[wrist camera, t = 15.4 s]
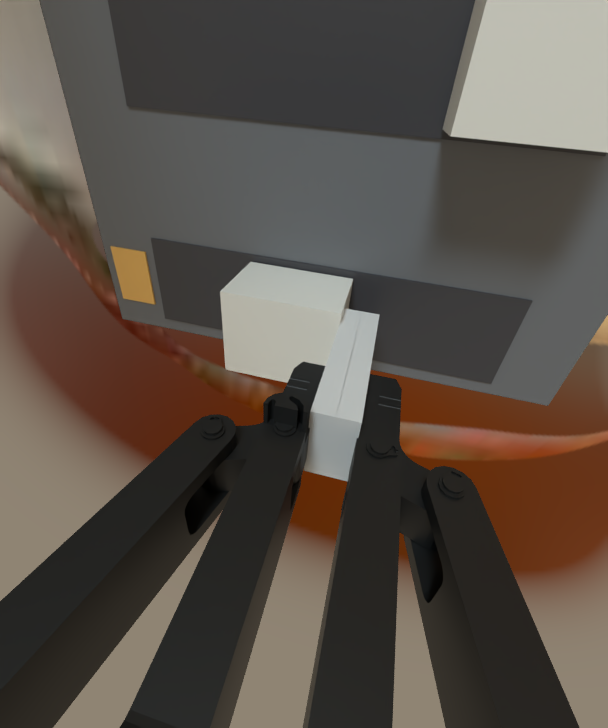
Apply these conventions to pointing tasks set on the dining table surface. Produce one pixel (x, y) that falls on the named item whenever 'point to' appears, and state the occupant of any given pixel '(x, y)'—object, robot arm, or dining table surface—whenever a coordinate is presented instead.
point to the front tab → (534, 74)
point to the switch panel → (331, 180)
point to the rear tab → (280, 319)
